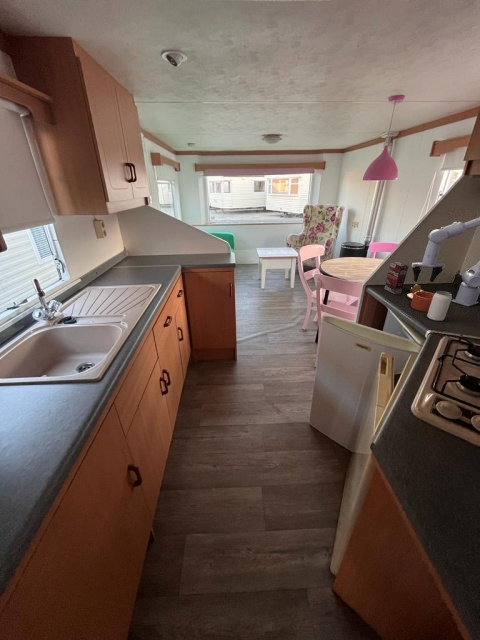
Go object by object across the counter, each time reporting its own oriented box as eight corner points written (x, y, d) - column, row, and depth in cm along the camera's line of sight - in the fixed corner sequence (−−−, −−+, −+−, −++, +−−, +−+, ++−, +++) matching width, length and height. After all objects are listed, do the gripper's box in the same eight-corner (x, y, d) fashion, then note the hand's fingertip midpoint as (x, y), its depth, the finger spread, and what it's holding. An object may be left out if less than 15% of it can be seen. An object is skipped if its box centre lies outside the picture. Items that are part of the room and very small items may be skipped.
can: (446, 321, 116) (456, 296, 110) (430, 320, 117) (438, 295, 112) (439, 315, 121) (448, 290, 116) (424, 314, 123) (432, 290, 117)
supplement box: (383, 289, 154) (390, 262, 147) (391, 288, 155) (397, 261, 148) (393, 294, 147) (401, 265, 140) (401, 293, 147) (409, 265, 140)
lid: (415, 293, 147) (417, 285, 145) (436, 300, 138) (438, 291, 136) (402, 297, 143) (404, 289, 141) (423, 304, 134) (425, 295, 132)
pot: (418, 302, 136) (422, 290, 133) (439, 309, 128) (444, 296, 125) (405, 305, 132) (409, 293, 129) (426, 313, 124) (430, 300, 121)
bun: (413, 289, 152) (415, 282, 150) (422, 292, 148) (425, 285, 146) (408, 291, 150) (410, 284, 148) (417, 294, 146) (419, 287, 144)
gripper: (418, 256, 130) (411, 283, 136) (451, 257, 127) (442, 284, 133) (412, 253, 136) (406, 278, 142) (444, 254, 133) (435, 280, 139)
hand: (423, 281), depth 138 cm, fingers open, 7 cm apart
